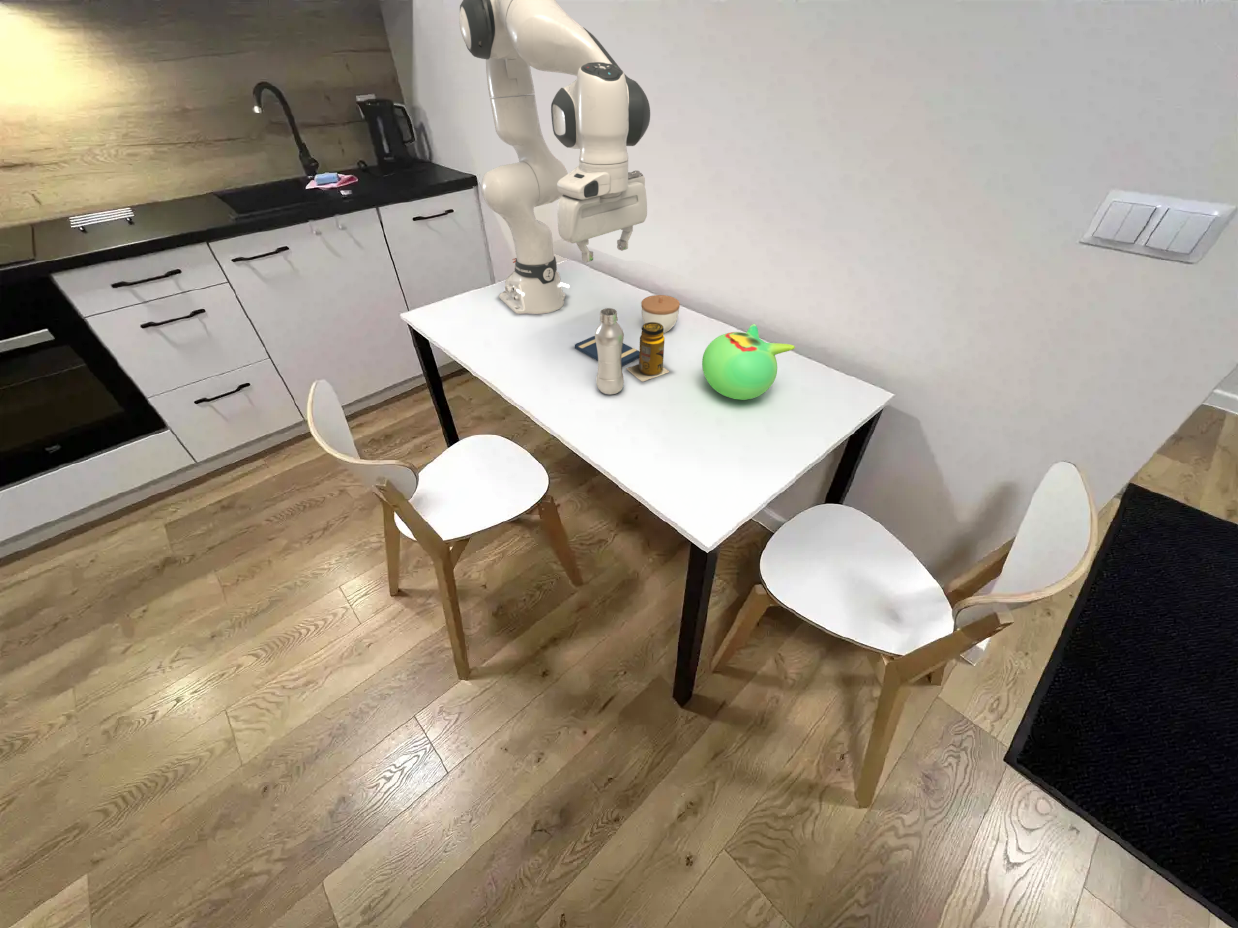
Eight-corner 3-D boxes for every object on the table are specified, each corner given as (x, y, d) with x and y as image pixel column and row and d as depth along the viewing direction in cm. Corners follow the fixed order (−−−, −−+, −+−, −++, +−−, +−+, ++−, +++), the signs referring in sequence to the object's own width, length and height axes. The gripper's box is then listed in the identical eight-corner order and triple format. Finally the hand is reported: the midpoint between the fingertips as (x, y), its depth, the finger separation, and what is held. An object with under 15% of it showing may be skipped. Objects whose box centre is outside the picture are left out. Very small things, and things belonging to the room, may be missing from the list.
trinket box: (675, 319, 146) (677, 288, 140) (680, 336, 138) (682, 304, 132) (639, 320, 146) (640, 289, 140) (641, 337, 138) (642, 305, 132)
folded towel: (574, 348, 134) (574, 344, 133) (602, 336, 139) (601, 332, 138) (614, 370, 125) (614, 366, 124) (642, 356, 130) (642, 352, 129)
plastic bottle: (610, 379, 122) (608, 302, 109) (629, 390, 118) (630, 312, 105) (590, 389, 119) (586, 311, 105) (610, 401, 115) (608, 322, 102)
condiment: (669, 372, 124) (672, 328, 116) (642, 382, 121) (643, 338, 113) (652, 360, 129) (654, 316, 121) (625, 369, 126) (625, 325, 118)
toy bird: (687, 379, 122) (692, 324, 112) (744, 365, 127) (754, 311, 117) (726, 419, 109) (736, 361, 100) (789, 401, 114) (804, 344, 104)
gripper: (633, 166, 97) (631, 239, 106) (549, 184, 87) (556, 263, 96) (656, 171, 94) (652, 246, 103) (571, 191, 83) (576, 272, 93)
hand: (605, 255), depth 100 cm, fingers open, 8 cm apart
